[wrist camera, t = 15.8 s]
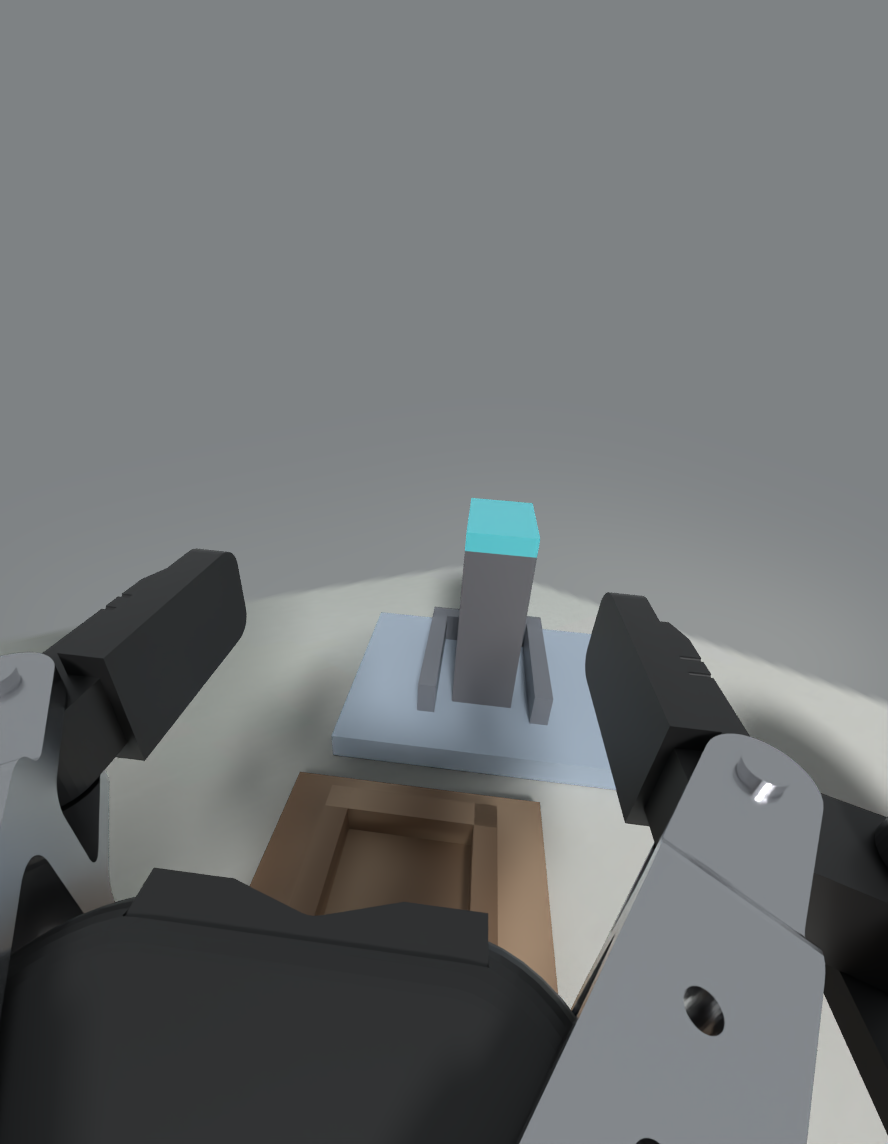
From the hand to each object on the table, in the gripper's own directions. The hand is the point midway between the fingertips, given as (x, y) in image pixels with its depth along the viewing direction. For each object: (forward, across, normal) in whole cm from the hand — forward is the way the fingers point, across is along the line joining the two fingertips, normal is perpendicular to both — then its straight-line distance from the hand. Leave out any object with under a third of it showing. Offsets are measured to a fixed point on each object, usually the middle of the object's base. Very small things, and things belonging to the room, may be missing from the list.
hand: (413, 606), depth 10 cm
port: (+14, -3, +16) cm, 21 cm away
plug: (+14, -3, +14) cm, 20 cm away
